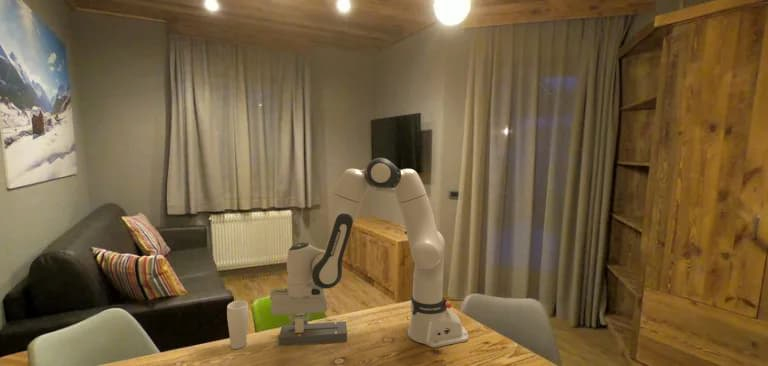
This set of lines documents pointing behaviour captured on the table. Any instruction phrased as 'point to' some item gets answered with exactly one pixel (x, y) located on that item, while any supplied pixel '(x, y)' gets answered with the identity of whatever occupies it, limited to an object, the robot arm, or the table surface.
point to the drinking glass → (237, 323)
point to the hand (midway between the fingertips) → (299, 324)
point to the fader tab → (299, 323)
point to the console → (313, 333)
